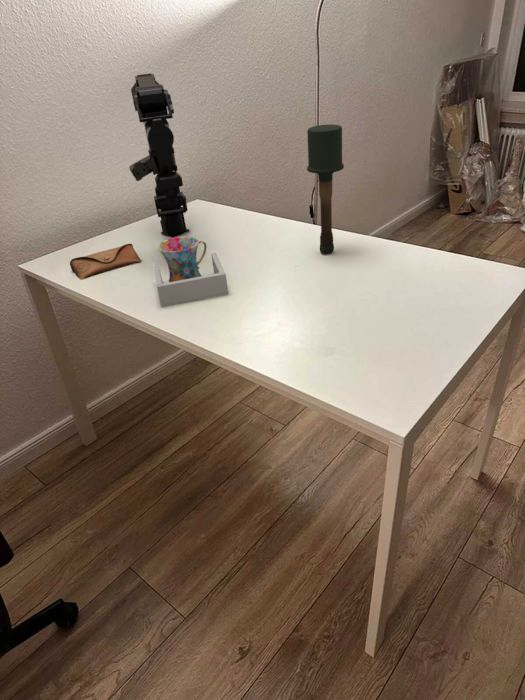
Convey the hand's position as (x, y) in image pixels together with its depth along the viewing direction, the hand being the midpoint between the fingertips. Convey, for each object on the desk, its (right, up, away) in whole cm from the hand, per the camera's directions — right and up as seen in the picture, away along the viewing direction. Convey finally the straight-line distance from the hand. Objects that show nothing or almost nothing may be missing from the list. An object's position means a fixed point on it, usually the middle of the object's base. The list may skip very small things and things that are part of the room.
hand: (172, 207), depth 127 cm
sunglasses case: (-18, -15, +6) cm, 24 cm away
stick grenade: (+40, -12, -1) cm, 42 cm away
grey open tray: (+6, -22, -11) cm, 25 cm away
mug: (+6, -21, -9) cm, 24 cm away
